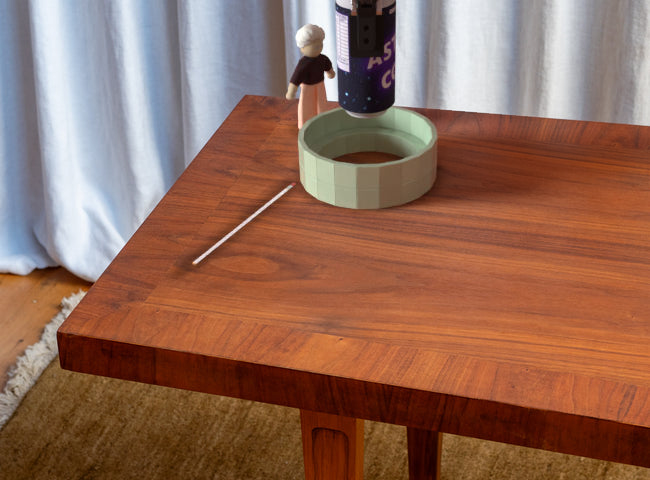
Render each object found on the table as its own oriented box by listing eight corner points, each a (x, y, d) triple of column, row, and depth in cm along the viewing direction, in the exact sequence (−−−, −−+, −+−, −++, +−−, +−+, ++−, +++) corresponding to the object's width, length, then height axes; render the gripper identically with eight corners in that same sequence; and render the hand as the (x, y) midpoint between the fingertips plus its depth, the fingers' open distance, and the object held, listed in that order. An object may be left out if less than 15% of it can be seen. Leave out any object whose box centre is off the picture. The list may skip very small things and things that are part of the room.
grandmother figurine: (313, 148, 100) (307, 38, 92) (284, 141, 102) (276, 33, 94) (346, 121, 105) (343, 15, 97) (318, 115, 107) (313, 10, 99)
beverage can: (369, 127, 86) (369, 2, 78) (326, 111, 89) (322, -11, 81) (406, 107, 89) (408, -15, 81) (363, 92, 92) (362, -26, 84)
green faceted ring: (430, 148, 99) (432, 102, 96) (439, 214, 88) (442, 165, 84) (304, 151, 100) (302, 105, 96) (297, 217, 89) (294, 168, 85)
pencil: (298, 189, 93) (298, 183, 92) (187, 280, 80) (185, 273, 80) (292, 187, 93) (291, 181, 93) (180, 277, 81) (179, 271, 80)
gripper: (415, -151, 66) (409, 78, 78) (405, -189, 80) (402, 11, 91) (315, -148, 67) (324, 80, 78) (323, -186, 80) (330, 13, 92)
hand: (366, 41), depth 84 cm, fingers closed on beverage can, 5 cm apart
